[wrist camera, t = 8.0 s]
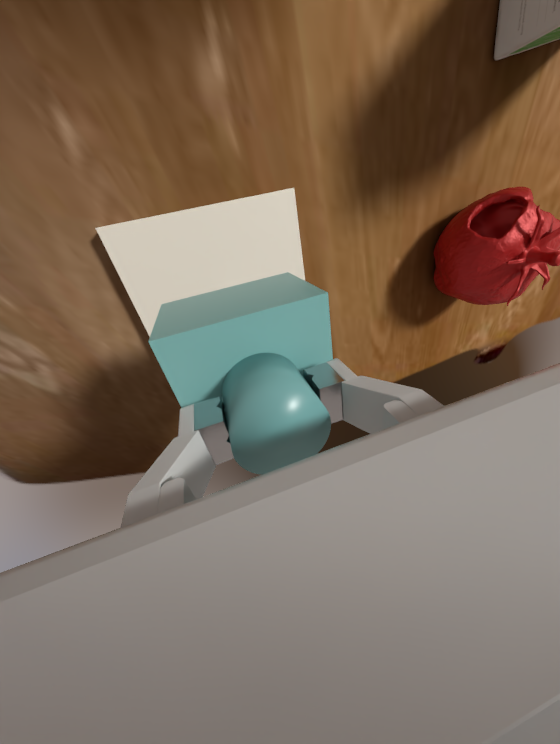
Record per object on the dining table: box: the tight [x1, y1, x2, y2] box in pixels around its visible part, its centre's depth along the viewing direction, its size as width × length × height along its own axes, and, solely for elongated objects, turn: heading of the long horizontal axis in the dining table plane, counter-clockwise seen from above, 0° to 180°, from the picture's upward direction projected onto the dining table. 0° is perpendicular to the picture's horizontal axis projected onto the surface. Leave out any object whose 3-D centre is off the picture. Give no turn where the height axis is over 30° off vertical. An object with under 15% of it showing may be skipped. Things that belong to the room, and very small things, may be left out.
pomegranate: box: [434, 187, 560, 306], centre depth 23 cm, size 10×10×9 cm
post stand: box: [96, 188, 305, 337], centre depth 21 cm, size 14×14×5 cm
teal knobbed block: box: [148, 272, 333, 475], centre depth 12 cm, size 7×7×8 cm
